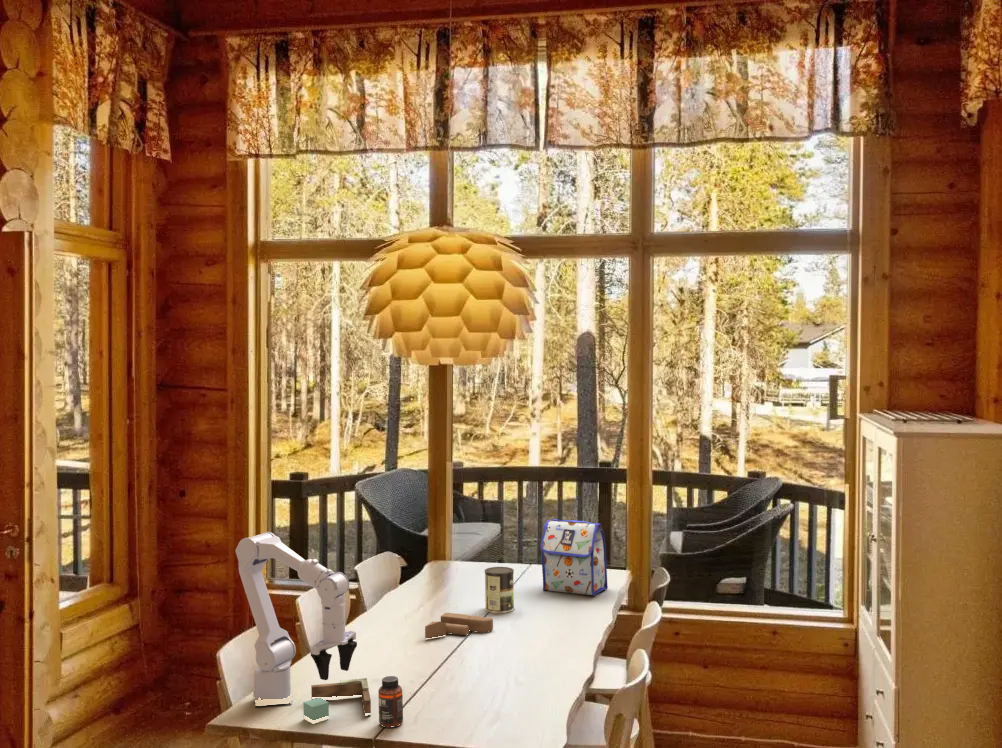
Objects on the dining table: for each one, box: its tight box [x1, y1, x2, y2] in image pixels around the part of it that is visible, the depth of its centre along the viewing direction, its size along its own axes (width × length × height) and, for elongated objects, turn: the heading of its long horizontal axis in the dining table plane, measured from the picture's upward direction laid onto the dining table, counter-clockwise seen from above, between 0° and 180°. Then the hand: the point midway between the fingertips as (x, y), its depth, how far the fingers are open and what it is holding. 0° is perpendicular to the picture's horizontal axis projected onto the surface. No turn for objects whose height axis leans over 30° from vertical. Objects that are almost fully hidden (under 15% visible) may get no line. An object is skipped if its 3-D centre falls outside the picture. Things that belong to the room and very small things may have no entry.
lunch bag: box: [539, 518, 609, 597], centre depth 344 cm, size 23×17×27 cm
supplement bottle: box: [378, 675, 404, 728], centre depth 224 cm, size 6×6×11 cm
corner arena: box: [310, 677, 372, 714], centre depth 234 cm, size 14×14×5 cm
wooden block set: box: [424, 612, 494, 639], centre depth 293 cm, size 17×6×18 cm
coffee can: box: [484, 566, 515, 614], centre depth 321 cm, size 10×10×14 cm
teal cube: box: [303, 698, 330, 720], centre depth 227 cm, size 4×4×4 cm
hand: (334, 674), depth 231 cm, fingers open, 7 cm apart
